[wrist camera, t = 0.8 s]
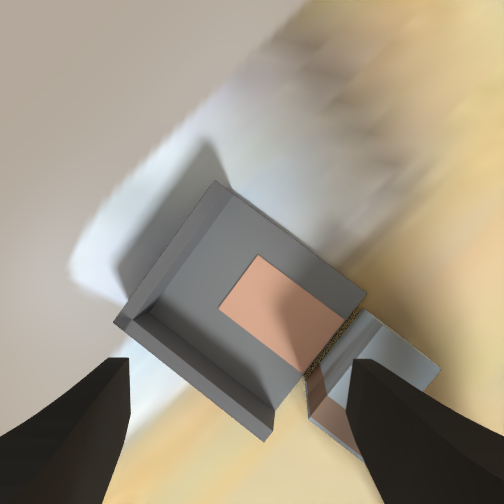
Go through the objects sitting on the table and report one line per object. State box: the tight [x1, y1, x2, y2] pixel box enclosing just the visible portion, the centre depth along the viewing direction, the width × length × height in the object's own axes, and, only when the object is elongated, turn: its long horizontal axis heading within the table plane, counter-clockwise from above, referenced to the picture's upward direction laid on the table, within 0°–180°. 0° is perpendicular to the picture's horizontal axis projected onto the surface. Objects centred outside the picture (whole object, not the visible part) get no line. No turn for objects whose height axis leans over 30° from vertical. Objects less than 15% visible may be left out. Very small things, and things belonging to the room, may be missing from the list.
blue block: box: [305, 308, 441, 463], centre depth 24 cm, size 4×7×6 cm, turn 144°
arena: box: [113, 180, 367, 442], centre depth 27 cm, size 13×12×3 cm
